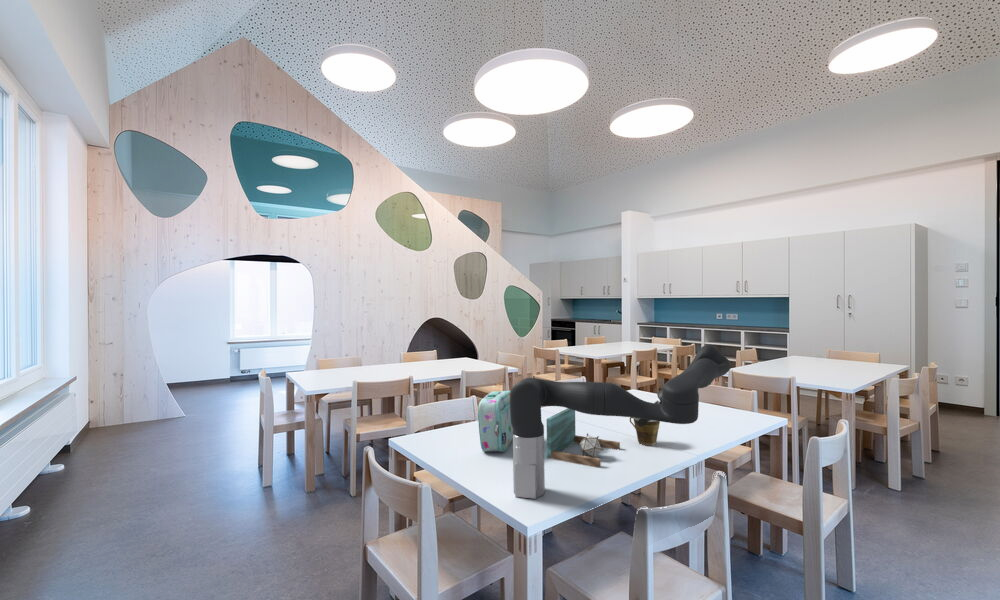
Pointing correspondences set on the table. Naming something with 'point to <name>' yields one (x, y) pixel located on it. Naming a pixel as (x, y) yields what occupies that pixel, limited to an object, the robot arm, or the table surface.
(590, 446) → the game die
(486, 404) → the lunch box
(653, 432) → the ceramic cup
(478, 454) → the table surface
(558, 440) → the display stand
